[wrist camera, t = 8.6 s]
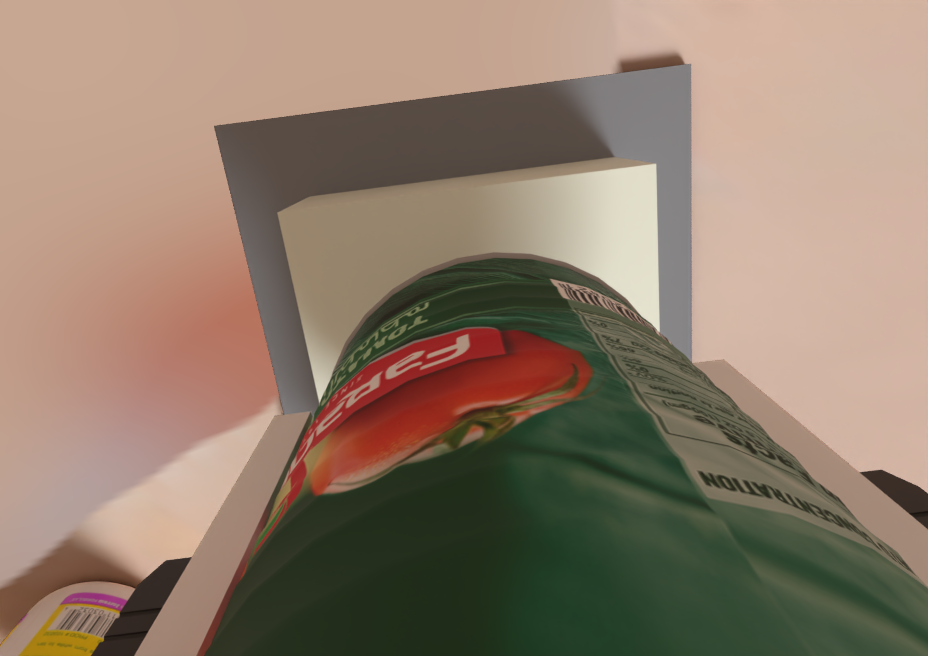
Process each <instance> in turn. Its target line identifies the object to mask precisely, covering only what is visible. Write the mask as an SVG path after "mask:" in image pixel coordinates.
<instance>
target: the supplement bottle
mask: <svg viewBox="0 0 928 656" xmlns="http://www.w3.org/2000/svg"><path fill="white" fill-rule="evenodd" d="M134 590H135V588H132V587H130V586H126V585H122V584H118V583H112V582H102V581H94V582H83V583H77V584H73V585H69V586H66V587H63V588H61V589H58V590H56V591H54V592H52V593H50V594H48V595H47V596H45V597H44V598H43V599H41V600H40V601H39V602H38V603H36V604H35V605H34V606H33V607H32V608H31V609H30V611H29V612H28V613H27V614H26V615H25V616H24V617H23V618H22V619H21V621H20V622H19V623H18V624H17V625H16V626H15V627H14V629H13V630H12V631H11V632H10V633H9V635H8V636H7V637H6V638H5V639H4V640H3V642H2V643H1V644H0V656H91V655H92V653H93V652H94V650H95V649H96V647H97V646H98V644H99V643H100V642H103V641H104V635H105V634H106V632H107V631H108V629H109V628H110V626H111V625H112V623H113V622H114V620H115V619H116V618H119V616H120V614H119V613H120V611H121V610H122V608H123V607H124V605H125V604H126V602H127V601H128V599H129V598H130V596H131V595H132V593H133V592H134Z"/></svg>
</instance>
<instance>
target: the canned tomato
mask: <svg viewBox="0 0 928 656" xmlns="http://www.w3.org/2000/svg"><path fill="white" fill-rule="evenodd" d="M204 656H928V586H927V585H926V584H925V583H924V582H923V581H922V580H921V579H920V578H919V577H918V576H917V575H916V574H915V573H914V572H913V571H912V569H911V568H910V567H909V566H908V564H907V563H906V562H905V561H904V560H903V558H902V557H901V556H900V555H899V553H898V552H897V551H895V550H894V549H893V548H891V547H890V546H889V545H887V544H886V543H884V542H883V541H882V540H880V539H879V538H878V537H876V536H875V535H873V534H872V533H871V532H870V531H869V530H867V529H866V528H865V527H864V526H863V525H862V524H861V523H860V522H859V521H858V520H857V519H856V518H855V517H854V515H853V514H852V513H851V512H850V510H849V509H848V508H847V507H846V506H845V504H844V503H843V502H842V501H841V500H840V498H839V497H837V496H836V495H834V494H833V493H832V492H830V491H829V490H828V489H826V488H825V487H824V486H822V485H821V484H819V483H818V482H817V481H815V480H814V479H813V478H812V477H811V476H810V475H809V473H808V472H807V471H806V470H805V469H804V467H803V466H802V465H801V464H800V463H799V461H798V460H797V459H796V458H795V457H794V456H793V455H792V454H791V453H789V452H788V451H786V450H785V449H784V448H782V447H781V446H780V445H778V444H777V443H776V442H774V441H773V440H772V439H771V437H770V436H769V435H768V434H767V433H766V431H765V430H764V429H763V428H762V427H761V425H760V424H759V423H758V422H756V421H755V420H754V419H752V418H751V417H750V416H748V415H747V414H746V413H744V412H743V411H742V410H741V409H740V408H739V407H738V406H737V404H736V403H735V402H734V401H733V400H732V399H731V397H730V396H729V395H727V394H726V393H725V392H723V391H722V390H721V389H719V388H718V387H717V386H715V385H714V383H713V382H712V381H711V380H710V379H709V377H708V376H707V375H706V374H705V373H704V372H702V371H701V370H700V369H698V368H697V367H696V366H694V365H693V364H692V363H691V361H690V360H689V359H688V358H687V357H686V355H685V354H683V353H682V352H681V351H679V350H678V349H677V348H675V347H674V346H673V344H672V343H671V342H670V341H669V340H668V339H667V338H666V337H665V336H663V335H662V334H661V333H659V332H658V331H657V329H656V328H655V327H654V326H653V325H652V324H651V323H650V322H648V321H647V320H646V319H644V318H643V317H642V316H641V315H640V314H639V313H638V312H637V310H636V309H635V308H634V307H633V306H632V305H631V303H630V302H629V301H628V300H627V299H626V298H625V297H624V296H622V295H621V294H620V293H618V292H617V291H616V290H614V289H613V288H612V287H611V286H609V285H608V284H607V283H605V282H604V281H603V280H601V279H600V278H598V277H596V276H594V275H592V274H590V273H588V272H586V271H583V270H581V269H579V268H577V267H575V266H573V265H571V264H568V263H566V262H563V261H559V260H554V259H550V258H546V257H542V256H538V255H534V254H525V253H499V252H492V253H486V254H480V255H473V256H467V257H461V258H456V259H453V260H450V261H448V262H445V263H442V264H439V265H437V266H434V267H431V268H428V269H426V270H423V271H421V272H420V273H418V274H416V275H415V276H413V277H411V278H410V279H408V280H406V281H405V282H403V283H402V284H400V285H398V286H397V287H395V288H393V289H392V290H391V291H390V292H389V293H387V294H386V295H385V296H384V297H383V298H382V299H381V300H380V301H379V302H378V303H377V304H376V305H374V306H373V307H372V308H371V309H370V310H369V311H368V312H367V313H366V314H365V315H364V317H363V318H362V319H361V321H360V322H359V324H358V325H357V326H356V328H355V329H354V331H353V332H352V333H351V335H350V336H349V338H348V339H347V340H346V342H345V344H344V347H343V349H342V351H341V354H340V356H339V358H338V360H337V363H336V365H335V367H334V370H333V372H332V376H331V379H330V381H329V383H328V385H327V388H326V390H325V391H324V394H323V396H322V398H321V401H320V403H319V405H318V408H317V410H316V411H315V413H314V416H313V418H312V420H311V423H310V425H309V427H308V430H307V432H306V434H305V435H304V438H303V440H302V442H301V445H300V447H299V449H298V452H297V454H296V456H295V458H294V460H293V462H292V464H291V466H290V468H289V471H288V473H287V475H286V478H285V480H284V482H283V485H282V487H281V489H280V492H279V493H278V495H277V497H276V499H275V501H274V504H273V506H272V508H271V511H270V513H269V515H268V518H267V520H266V522H265V525H264V527H263V529H262V532H261V533H260V535H259V536H258V538H257V541H256V543H255V545H254V548H253V550H252V552H251V555H250V557H249V559H248V562H247V564H246V566H245V569H244V571H243V573H242V576H241V578H240V580H239V583H238V584H237V585H236V587H235V589H234V591H233V593H232V596H231V598H230V600H229V603H228V605H227V607H226V610H225V612H224V614H223V617H222V619H221V621H220V624H219V626H218V628H217V631H216V633H215V635H214V638H213V640H212V644H211V645H210V647H209V648H208V649H207V651H206V652H205V655H204Z"/></svg>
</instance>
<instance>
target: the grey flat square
mask: <svg viewBox="0 0 928 656" xmlns="http://www.w3.org/2000/svg"><path fill="white" fill-rule="evenodd" d="M214 128H215V131H216V136H217V140H218V144H219V148H220V152H221V157H222V161H223V164H224V169H225V173H226V177H227V181H228V185H229V189H230V194H231V198H232V202H233V206H234V210H235V214H236V218H237V222H238V226H239V231H240V235H241V239H242V243H243V247H244V251H245V255H246V259H247V264H248V268H249V272H250V276H251V280H252V284H253V288H254V292H255V296H256V301H257V305H258V309H259V313H260V317H261V321H262V325H263V329H264V334H265V338H266V341H267V346H268V350H269V354H270V358H271V362H272V367H273V370H274V375H275V379H276V383H277V387H278V391H279V395H280V399H281V404H282V408H283V412H284V415H286V414H294V413H302V412H310V411H311V415H312V418H313V416H314V413H315V411H316V410H317V408H318V405H319V399H318V395H317V390H316V386H315V381H314V377H313V372H312V368H311V363H310V359H309V354H308V350H307V345H306V340H305V336H304V331H303V327H302V322H301V318H300V313H299V309H298V304H297V300H296V295H295V291H294V286H293V282H292V277H291V272H290V268H289V263H288V259H287V254H286V250H285V245H284V241H283V236H282V232H281V227H280V223H279V218H278V214H277V213H278V212H280V211H282V210H284V209H286V208H288V207H290V206H292V205H294V204H296V203H298V202H300V201H302V200H304V199H306V198H308V197H310V196H317V195H325V194H333V193H340V192H348V191H356V190H364V189H371V188H379V187H387V186H394V185H402V184H410V183H418V182H425V181H433V180H441V179H448V178H456V177H464V176H472V175H479V174H487V173H495V172H502V171H510V170H518V169H526V168H533V167H541V166H549V165H556V164H564V163H572V162H580V161H587V160H595V159H603V158H610V157H618V158H624V159H630V160H637V161H643V162H649V163H655V164H656V175H657V224H658V273H659V322H660V333H661V334H662V335H663V336H665V337H666V338H667V339H668V340H669V341H670V342H671V343H672V344H673V346H674V347H675V348H677V349H678V350H679V351H681V352H682V353H683V354H685V355H686V357H687V358H688V359H689V360H690V361H691V363H692V235H691V64H685V65H677V66H670V67H662V68H654V69H647V70H639V71H632V72H624V73H616V74H609V75H601V76H594V77H586V78H578V79H570V80H563V81H555V82H547V83H540V84H533V85H525V86H517V87H509V88H501V89H495V90H486V91H479V92H471V93H463V94H455V95H448V96H440V97H433V98H425V99H417V100H409V101H402V102H394V103H387V104H379V105H371V106H364V107H357V108H348V109H341V110H333V111H325V112H318V113H310V114H302V115H295V116H287V117H279V118H272V119H264V120H256V121H249V122H241V123H233V124H226V125H218V126H214Z"/></svg>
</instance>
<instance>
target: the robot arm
mask: <svg viewBox="0 0 928 656" xmlns="http://www.w3.org/2000/svg"><path fill="white" fill-rule="evenodd" d="M692 364H693V365H694V366H696V367H697V368H698V369H700V370H701V371H702V372H704V373H705V374H706V375H707V376H708V377H709V379H710V380H711V381H712V382H713V383H714V385H715V386H717V387H718V388H719V389H721V390H722V391H723V392H725V393H726V394H727V395H729V396H730V397H731V399H732V400H733V401H734V402H735V403H736V404H737V406H738V407H739V408H740V409H741V410H742V411H743V412H744V413H746V414H747V415H748V416H750V417H751V418H752V419H754V420H755V421H756V422H758V423H759V424H760V425H761V427H762V428H763V429H764V430H765V431H766V433H767V434H768V435H769V436H770V437H771V439H772V440H773V441H774V442H776V443H777V444H778V445H780V446H781V447H782V448H784V449H785V450H786V451H788V452H789V453H791V454H792V455H793V456H794V457H795V458H796V459H797V460H798V461H799V463H800V464H801V465H802V466H803V467H804V469H805V470H806V471H807V472H808V473H809V475H810V476H811V477H812V478H813V479H814V480H815V481H817V482H818V483H819V484H821V485H822V486H824V487H825V488H826V489H828V490H829V491H830V492H832V493H833V494H834V495H836V496H837V497H839V498H840V500H841V501H842V502H843V503H844V504H845V506H846V507H847V508H848V509H849V510H850V512H851V513H852V514H853V515H854V517H855V518H856V519H857V520H858V521H859V522H860V523H861V524H862V525H863V526H864V527H865V528H866V529H867V530H869V531H870V532H871V533H872V534H873V535H875V536H876V537H878V538H879V539H880V540H882V541H883V542H884V543H886V544H887V545H889V546H890V547H891V548H893V549H894V550H895V551H897V552H898V553H899V555H900V556H901V557H902V558H903V560H904V561H905V562H906V563H907V564H908V566H909V567H910V568H911V569H912V571H913V572H914V573H915V574H916V575H917V576H918V577H919V578H920V579H921V580H922V581H923V582H924V583H925V584H926V585H927V586H928V493H926V492H925V491H924V490H922V489H921V488H920V487H918V486H916V485H914V484H912V483H910V482H907V481H905V480H903V479H901V478H898V477H896V476H894V475H892V474H890V473H887V472H885V471H883V470H876V471H868V472H860V473H859V472H858V471H857V470H856V469H855V468H853V467H852V466H851V465H850V464H849V463H847V462H846V461H845V460H844V459H843V458H841V457H840V456H839V455H838V454H837V453H835V452H834V451H833V450H832V449H831V448H829V447H828V446H827V445H826V444H825V443H823V442H822V441H821V440H820V439H819V438H817V437H816V436H815V435H814V434H813V433H811V432H810V431H809V430H808V429H807V428H805V427H804V426H803V425H802V424H801V423H799V422H798V421H797V420H796V419H795V418H793V417H792V416H791V415H790V414H789V413H787V412H786V411H785V410H784V409H783V408H781V407H780V406H779V405H778V404H777V403H775V402H774V401H773V400H772V399H771V398H769V397H768V396H767V395H766V394H765V393H763V392H762V391H761V390H760V389H759V388H757V387H756V386H755V385H754V384H753V383H751V382H750V381H749V380H748V379H747V378H745V377H744V376H743V375H742V374H741V373H739V372H738V371H737V370H736V369H735V368H733V367H732V366H731V365H730V364H729V363H727V362H726V361H725V360H724V359H723V360H715V361H707V362H699V363H692ZM311 420H312V415H311V411H310V412H302V413H294V414H286V415H278V416H274V418H273V420H272V421H271V423H270V425H269V427H268V428H267V430H266V432H265V433H264V435H263V437H262V439H261V440H260V442H259V444H258V445H257V447H256V449H255V450H254V452H253V454H252V456H251V457H250V459H249V461H248V462H247V464H246V466H245V468H244V469H243V471H242V473H241V474H240V476H239V478H238V479H237V481H236V483H235V485H234V486H233V488H232V490H231V491H230V493H229V495H228V497H227V498H226V500H225V502H224V503H223V505H222V507H221V509H220V510H219V512H218V514H217V515H216V517H215V519H214V520H213V522H212V524H211V526H210V527H209V529H208V531H207V532H206V534H205V536H204V538H203V539H202V541H201V543H200V544H199V546H198V548H197V549H196V551H195V553H194V555H193V556H192V557H190V558H182V559H174V560H166V561H165V562H164V563H163V564H161V565H160V566H159V567H158V568H157V569H156V570H155V571H153V572H152V573H151V574H150V575H149V576H148V577H147V578H146V579H144V580H143V581H142V582H141V583H140V584H139V585H138V586H137V587H136V589H135V590H134V592H133V593H132V595H131V596H130V598H129V599H128V601H127V602H126V604H125V605H124V607H123V608H122V610H121V611H120V613H119V614H120V616H119V618H116V619H115V620H114V622H113V623H112V625H111V626H110V628H109V629H108V631H107V632H106V634H105V635H104V641H103V642H100V643H99V644H98V646H97V647H96V649H95V650H94V652H93V653H92V655H91V656H204V655H205V652H206V651H207V649H208V648H209V647H210V645H211V644H212V640H213V638H214V635H215V633H216V631H217V628H218V626H219V624H220V621H221V619H222V617H223V614H224V612H225V610H226V607H227V605H228V603H229V600H230V598H231V596H232V593H233V591H234V589H235V587H236V585H237V584H238V583H239V580H240V578H241V576H242V573H243V571H244V569H245V566H246V564H247V562H248V559H249V557H250V555H251V552H252V550H253V548H254V545H255V543H256V541H257V538H258V536H259V535H260V533H261V532H262V529H263V527H264V525H265V522H266V520H267V518H268V515H269V513H270V511H271V508H272V506H273V504H274V501H275V499H276V497H277V495H278V493H279V492H280V489H281V487H282V485H283V482H284V480H285V478H286V475H287V473H288V471H289V468H290V466H291V464H292V462H293V460H294V458H295V456H296V454H297V452H298V449H299V447H300V445H301V442H302V440H303V438H304V435H305V434H306V432H307V430H308V427H309V425H310V423H311Z"/></svg>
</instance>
